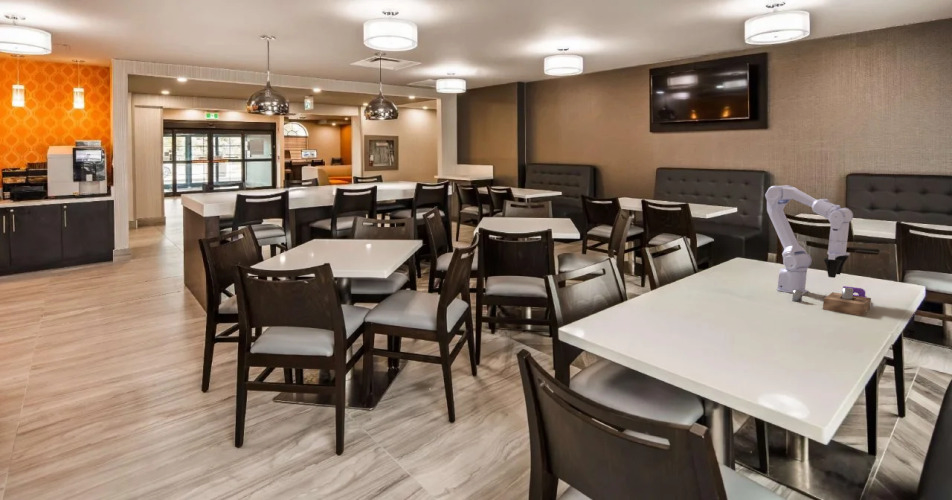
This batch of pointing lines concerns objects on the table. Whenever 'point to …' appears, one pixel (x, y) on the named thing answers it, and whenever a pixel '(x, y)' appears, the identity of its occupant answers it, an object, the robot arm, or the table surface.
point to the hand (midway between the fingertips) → (834, 275)
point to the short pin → (797, 295)
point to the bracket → (857, 291)
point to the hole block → (847, 304)
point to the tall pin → (847, 293)
